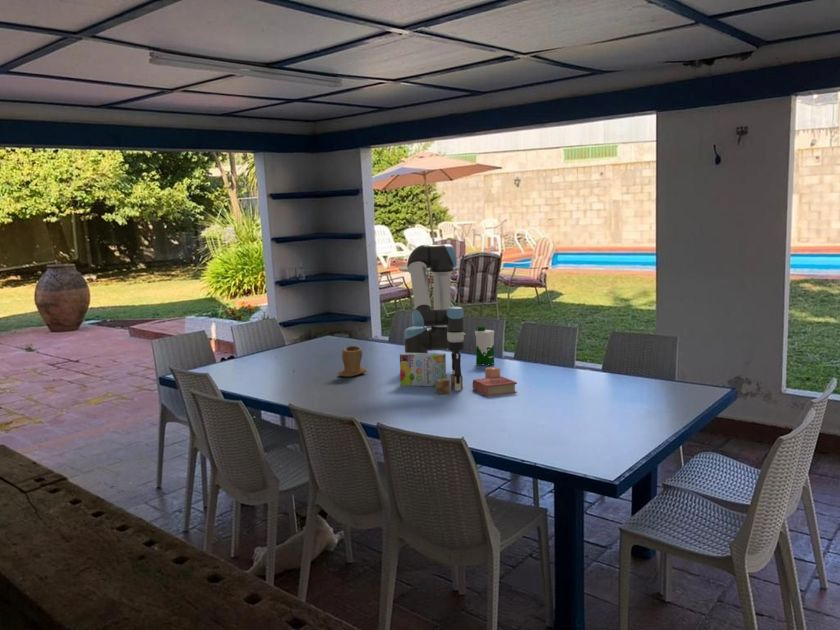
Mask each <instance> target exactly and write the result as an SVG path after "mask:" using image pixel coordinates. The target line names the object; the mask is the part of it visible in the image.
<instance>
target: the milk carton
mask: <svg viewBox="0 0 840 630" xmlns="http://www.w3.org/2000/svg"><path fill="white" fill-rule="evenodd" d="M474 334H475V346H476V350H475V352H476V357H475V360H476V361H475V362H476V363H475V364H484V365H483V366H485V365H488V364H491V365H493V364H492V363H494V364H495V344H494V343H495V341H494V340H495V330H491V329H486V326H485V325H480V326H477V330H475V331H474ZM488 366H489V365H488Z"/></svg>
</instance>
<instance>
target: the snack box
mask: <svg viewBox="0 0 840 630" xmlns="http://www.w3.org/2000/svg"><path fill="white" fill-rule="evenodd" d="M446 366H447V361H446V353H445V352H444V353H443V352H442V353H441V352H439V353H438V352H437V353H436V352H434V353H433V352H428V353H405V352H402V353H400V354H399V371H400V374H399V376H400V378H399V379H400V386H409V387H410V386H412V387H436V379H447V371H446V370H447V367H446Z"/></svg>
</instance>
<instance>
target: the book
mask: <svg viewBox="0 0 840 630" xmlns="http://www.w3.org/2000/svg"><path fill="white" fill-rule="evenodd" d="M517 384H518V382H516V381H514V380H512V379H509V378H507V377H504V376H501V375H500V377H492V378H485V377H484V378H476V379H473V380H472V390H473V391H475V392H476V393H477V392H478V393H480V394H482V395H483V396H486V397H493V396H501V395H509V394H516V393H517V394H518V392H517V391H516V385H517Z"/></svg>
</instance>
